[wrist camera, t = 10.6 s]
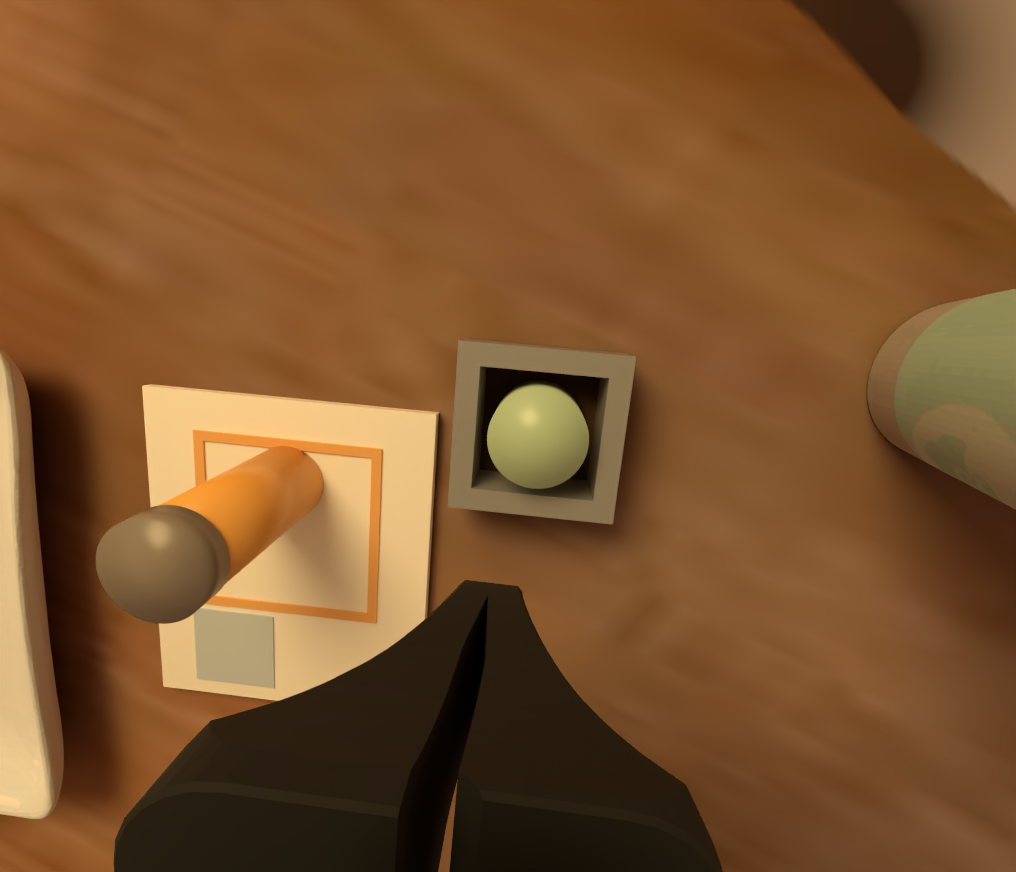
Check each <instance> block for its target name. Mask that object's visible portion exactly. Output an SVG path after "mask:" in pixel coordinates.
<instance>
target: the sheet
mask: <svg viewBox="0 0 1016 872" xmlns="http://www.w3.org/2000/svg"><path fill="white" fill-rule="evenodd" d="M142 390H143V404H144V419H145V433H146V447H147V461H148V475H149V489H150V503H151V507H154V506H158V505H160V504H162V503H164V502H166V501H168V500H170V499H172V498H174V497H176V496H178V495H180V494H182V493H184V492H186V491H188V490H190V489H192V488H194V487H196V486H198V485H199V484H201V483H203V482H205V481H207V480H209V479H211V478H213V477H215V476H217V475H219V474H221V473H223V472H225V471H227V470H229V469H231V468H233V467H235V466H237V465H239V464H241V463H243V462H245V461H247V460H249V459H251V458H253V457H255V456H257V455H258V454H260V453H262V452H264V451H266V450H268V449H271V448H274V447H278V446H288V447H293V448H296V449H299V450H301V451H303V452H304V453H306V454H307V455H308V456H310V457H311V458H312V459H313V460H314V462H315V463H316V464H317V466H318V467H319V469H320V471H321V474H322V478H323V493H322V496H321V498H320V500H319V502H318V503H317V505H316V506H315V507H314V508H313V509H312V510H310V511H309V512H308V513H307V514H306V515H305V516H303V517H302V518H301V519H300V520H299V521H298V522H296V523H295V524H294V525H293V526H292V527H291V528H290V529H288V530H287V531H286V532H285V533H284V534H283V535H281V536H280V537H279V538H278V539H277V540H276V541H274V542H273V543H272V544H271V545H270V546H269V547H268V548H266V549H265V550H264V551H263V552H262V553H261V554H259V555H258V556H257V557H256V558H255V559H254V560H252V561H251V562H250V563H249V564H248V565H247V566H245V567H244V568H243V569H242V570H241V571H240V572H239V573H237V574H236V575H235V576H234V577H233V578H232V579H230V580H229V581H228V582H227V583H226V584H225V585H224V586H223V587H222V589H221V590H220V591H219V592H218V593H217V594H216V595H215V596H213V597H212V598H211V599H210V600H209V601H208V602H206V603H205V604H204V605H203V606H202V607H201V608H200V609H198V610H197V611H196V612H195V613H194V614H192V615H191V616H190V617H188V618H186V619H184V620H182V621H179V622H175V623H168V624H159V630H160V644H161V658H162V672H163V686H164V687H172V688H180V689H188V690H196V691H204V692H212V693H220V694H228V695H236V696H244V697H252V698H260V699H268V700H276V701H280V700H282V699H285V698H288V697H290V696H293V695H296V694H298V693H301V692H304V691H306V690H309V689H311V688H313V687H316V686H318V685H320V684H323V683H325V682H327V681H329V680H331V679H333V678H335V677H337V676H339V675H341V674H343V673H345V672H347V671H349V670H351V669H353V668H355V667H357V666H359V665H361V664H363V663H365V662H366V661H368V660H370V659H372V658H373V657H375V656H376V655H378V654H380V653H381V652H383V651H384V650H386V649H388V648H389V647H390V646H392V645H393V644H395V643H396V642H397V641H399V640H400V639H401V638H403V637H404V636H405V635H406V634H408V633H409V632H410V631H411V630H413V629H414V628H415V627H416V626H418V625H419V624H420V623H421V622H422V621H424V620H425V619H426V618H427V611H428V594H429V576H430V559H431V542H432V525H433V508H434V490H435V473H436V456H437V439H438V421H439V412H430V411H420V410H409V409H399V408H389V407H379V406H368V405H358V404H348V403H338V402H327V401H317V400H307V399H297V398H286V397H276V396H266V395H256V394H245V393H235V392H225V391H215V390H204V389H194V388H184V387H174V386H163V385H153V384H151V385H144V386H142Z"/></svg>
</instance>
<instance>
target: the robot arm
mask: <svg viewBox="0 0 1016 872" xmlns="http://www.w3.org/2000/svg"><path fill="white" fill-rule="evenodd" d="M457 779H458V782H457ZM456 783H457V794H456V805H455V816H454V828H453V839H452V850H451V862H450V872H723V871H722V867H721V864H720V861H719V858H718V855H717V853H716V850H715V847H714V845H713V842H712V840H711V837H710V835H709V833H708V831H707V829H706V827H705V824H704V822H703V820H702V818H701V816H700V814H699V811H698V809H697V807H696V805H695V803H694V801H693V799H692V797H691V795H690V793H689V791H688V788H687V787H686V785H685V784H684V783H682V782H681V781H679V780H678V779H677V778H675V777H674V776H672V775H671V774H669V773H668V772H667V771H665V770H664V769H662V768H661V767H660V766H658V765H657V764H655V763H654V762H652V761H651V760H650V759H648V758H647V757H645V756H644V755H642V754H641V753H640V752H639V751H637V750H636V749H635V748H634V747H632V746H631V745H630V744H629V743H628V742H626V741H625V740H624V739H623V738H622V737H621V736H619V735H618V734H617V733H616V732H615V731H613V730H612V729H611V728H610V727H609V726H608V725H607V724H606V723H605V722H604V721H603V720H602V719H601V718H600V717H599V716H598V715H597V714H596V713H595V712H594V711H593V710H592V709H591V708H590V707H589V706H588V705H587V704H586V703H585V702H584V701H583V700H582V699H581V698H580V696H579V695H578V694H577V693H576V692H575V690H574V689H573V688H572V686H571V685H570V684H569V683H568V681H567V680H566V679H565V677H564V676H563V674H562V673H561V672H560V670H559V669H558V667H557V666H556V664H555V663H554V661H553V659H552V658H551V656H550V654H549V653H548V651H547V650H546V648H545V646H544V644H543V642H542V641H541V639H540V637H539V635H538V633H537V631H536V629H535V627H534V625H533V623H532V620H531V618H530V616H529V613H528V611H527V608H526V605H525V602H524V599H523V595H522V591H521V590H520V588H519V587H518V586H511V585H503V584H494V583H486V582H478V581H469V580H465V581H464V582H462V583H461V584H460V585H459V586H458V587H457V588H456V589H455V590H454V592H453V593H452V594H451V595H450V596H449V597H448V598H447V599H446V600H445V601H444V602H443V603H442V604H441V605H440V606H439V607H438V608H437V609H436V610H434V611H433V612H432V613H431V614H430V615H429V616H428V617H427V618H426V619H425V620H424V621H422V622H421V623H420V624H419V625H418V626H416V627H415V628H414V629H413V630H411V631H410V632H409V633H408V634H406V635H405V636H404V637H403V638H401V639H400V640H399V641H397V642H396V643H395V644H393V645H392V646H390V647H389V648H388V649H386V650H384V651H383V652H381V653H380V654H378V655H376V656H375V657H373V658H372V659H370V660H368V661H366V662H365V663H363V664H361V665H359V666H357V667H355V668H353V669H351V670H349V671H347V672H345V673H343V674H341V675H339V676H337V677H335V678H333V679H331V680H329V681H327V682H325V683H323V684H320V685H318V686H316V687H313V688H311V689H309V690H306V691H304V692H301V693H298V694H296V695H293V696H290V697H288V698H285V699H282V700H280V701H277V702H274V703H271V704H268V705H264V706H261V707H258V708H254V709H251V710H247V711H244V712H241V713H237V714H234V715H230V716H227V717H223V718H220V719H216V720H212V721H210V722H209V723H208V724H207V725H206V726H205V727H204V728H203V729H202V730H201V731H200V732H199V733H198V734H197V736H196V737H195V738H194V739H193V740H192V741H191V742H190V743H189V744H188V745H187V746H186V747H185V748H184V749H183V750H182V751H181V753H180V754H179V755H178V756H177V757H176V758H175V759H174V761H173V762H172V763H171V764H170V765H169V766H168V768H167V769H166V770H165V771H164V772H163V773H162V775H161V776H160V777H159V778H158V779H157V781H156V782H155V783H154V784H153V785H152V786H151V788H150V789H149V790H148V791H147V792H146V793H145V795H144V796H143V797H142V798H141V799H140V800H139V802H138V803H137V804H136V805H135V806H134V808H133V809H132V810H131V811H130V812H129V813H128V815H127V816H126V817H125V818H124V821H123V823H122V825H121V828H120V830H119V832H118V834H117V837H116V839H115V852H114V872H438V869H439V863H440V857H441V852H442V846H443V841H444V835H445V829H446V824H447V819H448V815H449V810H450V806H451V802H452V798H453V794H454V790H455V786H456Z"/></svg>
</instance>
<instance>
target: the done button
mask: <svg viewBox="0 0 1016 872" xmlns="http://www.w3.org/2000/svg"><path fill="white" fill-rule="evenodd" d="M487 445H488V451H489V454H490V457H491V459H492V461H493V463H494V465H495V466H496V468H497V469H498V470H499V472H500V473H501V474H502V475H503V476H505V477H506V478H507V479H508V480H510V481H512V482H513V483H515V484H517V485H520V486H523V487H526V488H532V489H544V488H550V487H554V486H556V485H559V484H561V483H563V482H565V481H566V480H568V479H569V478H571V477H572V476H573V475H574V474H575V473H576V472H577V471H578V470H579V468H580V467H581V465H582V464H583V462H584V460H585V458H586V455H587V452H588V446H589V432H588V427H587V424H586V421H585V419H584V417H583V414H582V412H581V410H580V408H579V406H578V404H577V402H576V400H575V399H574V398H573V396H572V395H571V394H570V393H569V392H568V391H567V390H566V389H564V388H563V387H561V386H560V385H557V384H555V383H553V382H549V381H544V380H533V381H528V382H524V383H522V384H519V385H518V386H516V387H514V388H513V389H511V390H510V391H509V392H508V393H507V394H506V395H505V396H504V398H503V399H502V401H501V402H500V404H499V406H498V408H497V409H496V411H495V413H494V415H493V417H492V419H491V421H490V424H489V427H488V433H487Z"/></svg>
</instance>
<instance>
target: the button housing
mask: <svg viewBox="0 0 1016 872" xmlns="http://www.w3.org/2000/svg"><path fill="white" fill-rule="evenodd" d="M635 363H636V356H633V355H629V354H626V353H619V352H608V351H597V350H586V349H575V348H564V347H553V346H542V345H531V344H520V343H509V342H498V341H487V340H476V339H465V340H459V341H458V356H457V372H456V387H455V403H454V418H453V434H452V449H451V465H450V480H449V496H448V507H452V508H461V509H471V510H480V511H490V512H499V513H509V514H518V515H527V516H537V517H546V518H556V519H565V520H575V521H584V522H593V523H603V524H612V525H613V519H614V512H615V505H616V498H617V490H618V483H619V476H620V469H621V462H622V455H623V448H624V441H625V434H626V427H627V420H628V412H629V405H630V398H631V391H632V384H633V377H634V370H635ZM487 367H494V368H505V369H515V370H526V371H537V372H548V373H558V374H569V375H580V376H590V377H600V381H599V389H598V397H597V405H596V413H595V421H594V428H593V436H592V444H591V452H590V460H589V468H588V476H587V480H578V479H568V480H566V481H565V482H563V483H561V484H559V485H556V486H554V487H550V488H544V489H532V488H526V487H523V486H520V485H517V484H515V483H513V482H512V481H510V480H508V479H507V478H506V477H505V476H503V475H502V474H501V473H500V472H499V471H490V470H480V469H479V468H480V455H481V442H482V429H483V416H484V403H485V391H486V378H487Z"/></svg>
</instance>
